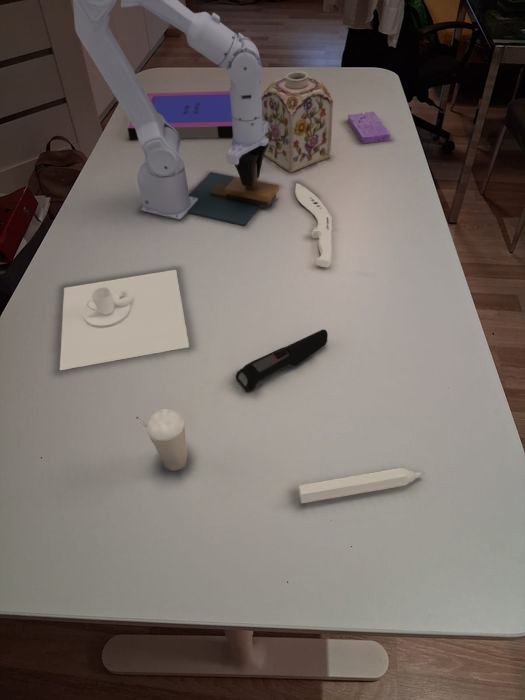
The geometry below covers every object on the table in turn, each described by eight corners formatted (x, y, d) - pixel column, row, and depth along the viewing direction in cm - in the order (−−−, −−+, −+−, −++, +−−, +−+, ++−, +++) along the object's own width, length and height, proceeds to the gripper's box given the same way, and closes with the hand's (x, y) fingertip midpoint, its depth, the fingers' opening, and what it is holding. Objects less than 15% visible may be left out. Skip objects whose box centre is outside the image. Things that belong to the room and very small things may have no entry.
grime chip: (210, 195, 114) (209, 192, 114) (218, 186, 117) (218, 183, 116) (226, 199, 113) (226, 195, 112) (235, 189, 115) (234, 186, 115)
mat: (175, 210, 112) (174, 208, 111) (210, 173, 121) (210, 171, 121) (244, 226, 107) (244, 224, 106) (276, 186, 116) (276, 184, 116)
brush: (225, 199, 112) (222, 165, 107) (235, 187, 116) (233, 154, 110) (269, 208, 110) (268, 174, 104) (278, 196, 113) (278, 162, 107)
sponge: (373, 118, 137) (374, 111, 136) (389, 140, 129) (390, 133, 127) (346, 121, 137) (347, 114, 135) (361, 144, 128) (362, 136, 127)
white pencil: (423, 481, 68) (300, 502, 67) (419, 464, 69) (297, 485, 67) (430, 481, 66) (302, 503, 64) (426, 463, 66) (299, 485, 64)
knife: (295, 179, 117) (331, 179, 116) (295, 186, 118) (331, 186, 117) (288, 260, 96) (332, 261, 95) (288, 268, 97) (331, 268, 96)
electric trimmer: (332, 351, 83) (334, 336, 81) (247, 394, 78) (246, 380, 75) (318, 337, 85) (319, 322, 83) (234, 378, 80) (232, 364, 78)
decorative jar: (331, 158, 124) (336, 76, 111) (290, 174, 120) (291, 91, 107) (299, 139, 131) (301, 60, 118) (260, 154, 127) (257, 73, 113)
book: (249, 125, 130) (127, 128, 132) (250, 137, 133) (130, 140, 134) (253, 90, 145) (142, 93, 146) (253, 101, 147) (145, 104, 148)
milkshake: (152, 447, 72) (137, 402, 65) (192, 444, 72) (182, 398, 65) (150, 477, 69) (134, 433, 62) (192, 473, 69) (181, 429, 62)
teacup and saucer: (134, 291, 94) (129, 273, 91) (136, 322, 89) (131, 303, 86) (83, 300, 93) (76, 281, 90) (83, 331, 88) (75, 313, 85)
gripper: (250, 134, 94) (253, 203, 104) (281, 101, 103) (282, 167, 113) (214, 128, 96) (221, 196, 106) (248, 97, 105) (251, 162, 115)
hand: (250, 181), depth 110 cm, fingers closed on brush, 2 cm apart
